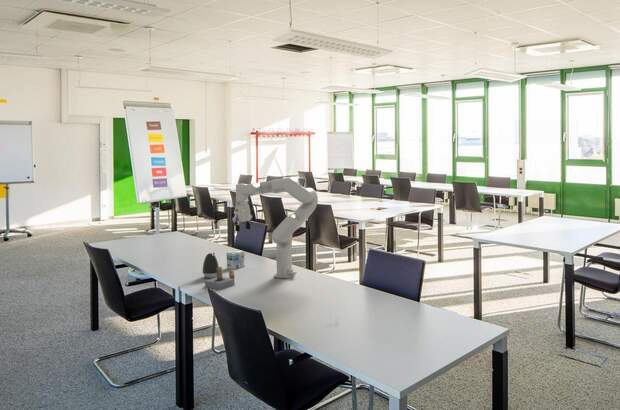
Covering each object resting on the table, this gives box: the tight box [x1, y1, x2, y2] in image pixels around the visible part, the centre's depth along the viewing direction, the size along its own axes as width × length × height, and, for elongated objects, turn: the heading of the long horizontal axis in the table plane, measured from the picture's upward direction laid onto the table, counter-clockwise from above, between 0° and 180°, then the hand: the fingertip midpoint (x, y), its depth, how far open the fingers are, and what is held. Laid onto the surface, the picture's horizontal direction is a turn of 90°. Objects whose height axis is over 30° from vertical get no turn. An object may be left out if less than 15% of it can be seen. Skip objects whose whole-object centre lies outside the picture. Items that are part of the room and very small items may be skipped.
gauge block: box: [204, 276, 235, 291], centre depth 287 cm, size 12×12×4 cm
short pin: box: [228, 269, 235, 280], centre depth 303 cm, size 3×3×5 cm
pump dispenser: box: [202, 252, 220, 279], centre depth 306 cm, size 10×10×15 cm
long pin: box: [216, 266, 223, 281], centre depth 287 cm, size 3×3×11 cm
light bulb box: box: [226, 249, 245, 270], centre depth 331 cm, size 11×7×11 cm, turn 143°
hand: (242, 230), depth 311 cm, fingers open, 9 cm apart
